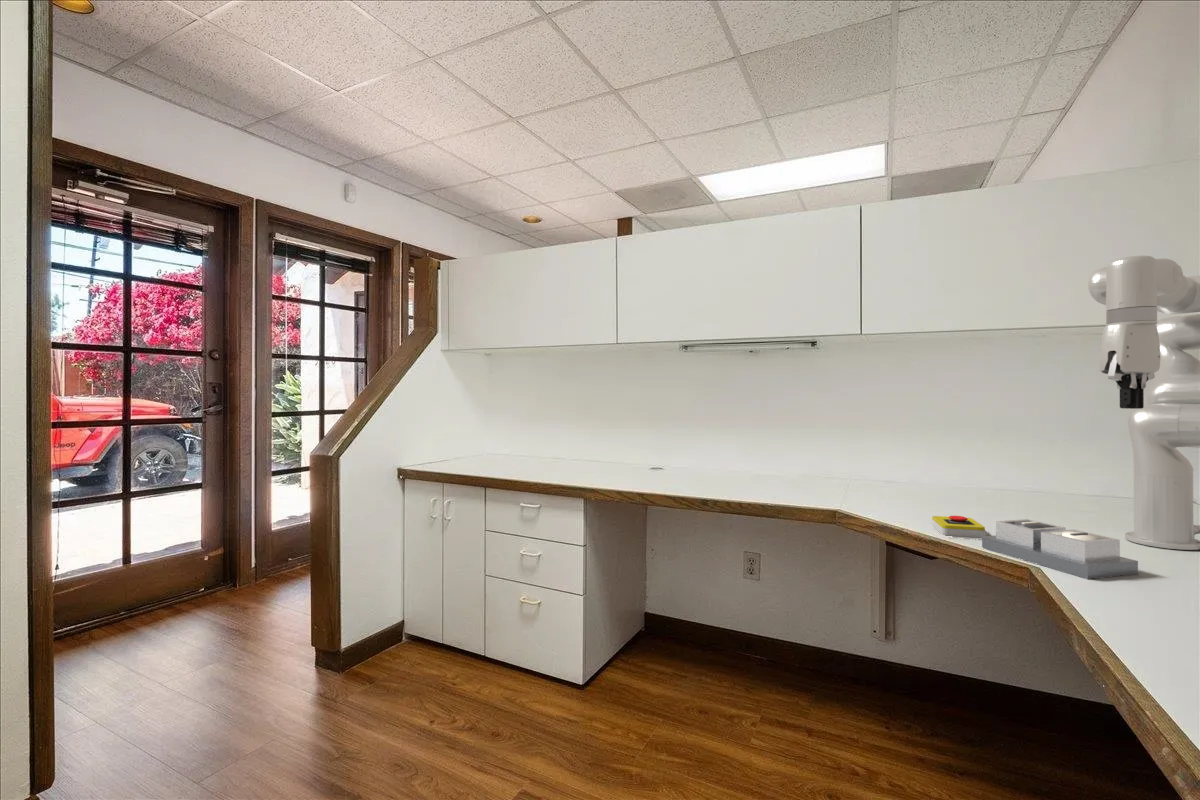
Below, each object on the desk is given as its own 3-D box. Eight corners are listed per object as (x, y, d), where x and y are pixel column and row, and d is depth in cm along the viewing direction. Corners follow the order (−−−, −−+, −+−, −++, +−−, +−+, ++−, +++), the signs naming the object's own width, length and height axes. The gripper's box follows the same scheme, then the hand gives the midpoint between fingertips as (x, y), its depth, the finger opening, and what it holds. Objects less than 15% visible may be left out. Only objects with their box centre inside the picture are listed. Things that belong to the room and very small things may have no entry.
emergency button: (943, 521, 133) (928, 509, 147) (943, 539, 133) (928, 526, 147) (989, 524, 130) (969, 511, 144) (989, 542, 130) (969, 528, 144)
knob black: (1028, 547, 122) (1028, 519, 122) (1052, 553, 117) (1051, 524, 117) (1008, 549, 121) (1008, 520, 121) (1032, 555, 116) (1031, 525, 116)
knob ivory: (1075, 560, 113) (1075, 529, 113) (1104, 568, 108) (1103, 535, 108) (1055, 562, 112) (1055, 531, 112) (1082, 570, 106) (1082, 537, 106)
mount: (1025, 544, 126) (1025, 517, 126) (1138, 574, 105) (1137, 541, 105) (982, 547, 124) (981, 520, 124) (1087, 579, 102) (1087, 545, 102)
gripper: (1137, 321, 119) (1138, 407, 119) (1082, 320, 116) (1083, 408, 116) (1181, 316, 111) (1181, 408, 112) (1123, 315, 108) (1124, 409, 108)
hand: (1131, 408), depth 114 cm, fingers closed
